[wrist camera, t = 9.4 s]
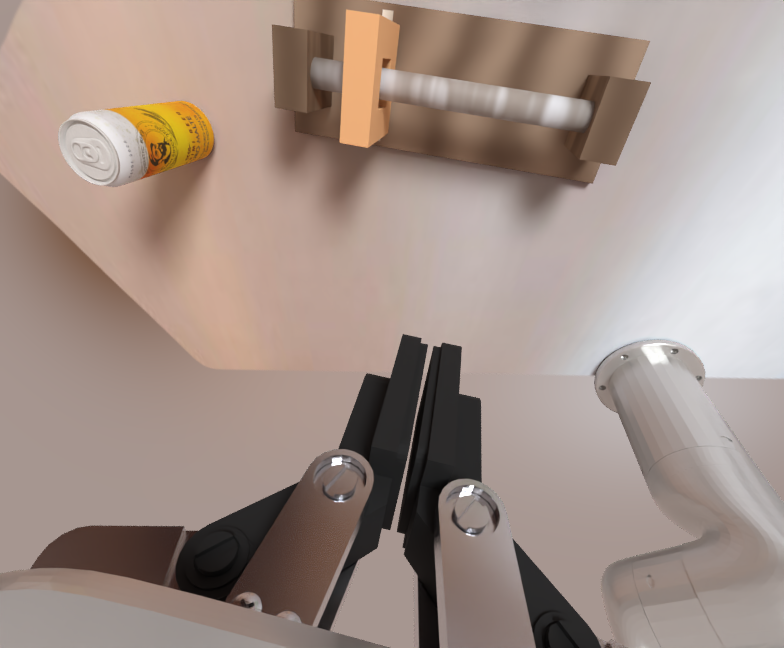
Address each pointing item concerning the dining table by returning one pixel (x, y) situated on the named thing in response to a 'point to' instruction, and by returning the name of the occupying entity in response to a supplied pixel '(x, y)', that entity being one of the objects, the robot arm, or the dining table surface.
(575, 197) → the dining table surface
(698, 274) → the dining table surface
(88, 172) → the beer can
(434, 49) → the pipe stand
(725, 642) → the robot arm
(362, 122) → the collar
